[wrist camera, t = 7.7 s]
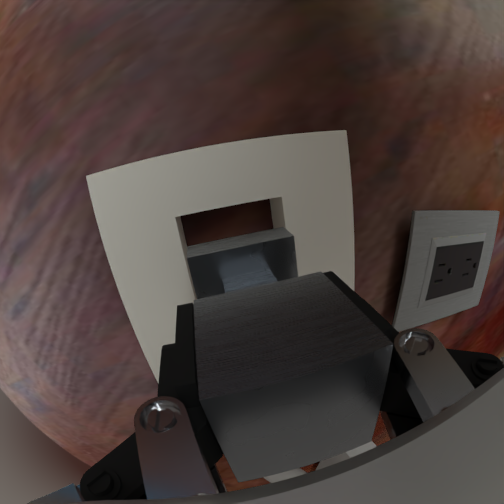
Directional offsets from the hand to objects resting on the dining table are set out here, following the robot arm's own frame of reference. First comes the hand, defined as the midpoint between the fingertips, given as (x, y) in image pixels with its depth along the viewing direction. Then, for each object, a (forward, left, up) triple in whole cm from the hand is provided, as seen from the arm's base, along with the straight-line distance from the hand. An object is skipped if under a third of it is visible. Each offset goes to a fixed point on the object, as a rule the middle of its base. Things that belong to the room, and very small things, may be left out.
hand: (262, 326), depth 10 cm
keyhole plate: (+4, 0, -9) cm, 10 cm away
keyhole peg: (0, 0, -4) cm, 4 cm away
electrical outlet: (+6, +19, -10) cm, 22 cm away
